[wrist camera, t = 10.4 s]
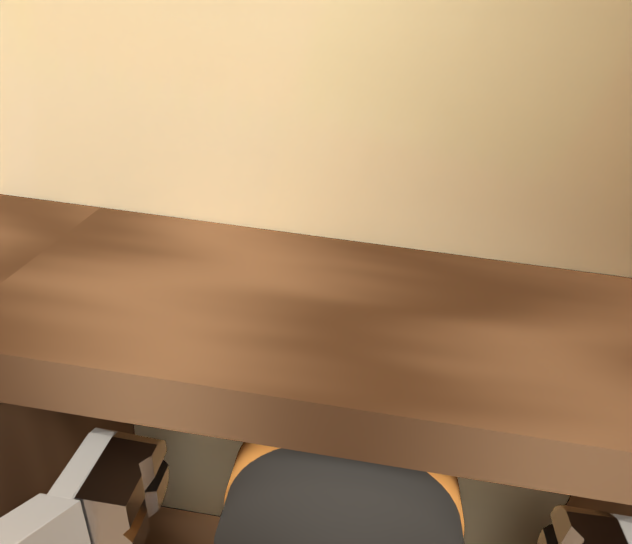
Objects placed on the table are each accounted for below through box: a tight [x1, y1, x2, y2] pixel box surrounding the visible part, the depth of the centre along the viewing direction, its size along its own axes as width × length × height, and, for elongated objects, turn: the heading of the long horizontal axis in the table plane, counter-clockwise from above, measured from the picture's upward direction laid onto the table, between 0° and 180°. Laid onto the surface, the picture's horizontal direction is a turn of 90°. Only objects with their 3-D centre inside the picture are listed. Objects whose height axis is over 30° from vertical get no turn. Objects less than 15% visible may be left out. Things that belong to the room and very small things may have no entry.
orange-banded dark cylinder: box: [214, 442, 464, 544], centre depth 11 cm, size 4×4×5 cm
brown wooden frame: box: [0, 194, 632, 544], centre depth 12 cm, size 18×12×5 cm, turn 85°
